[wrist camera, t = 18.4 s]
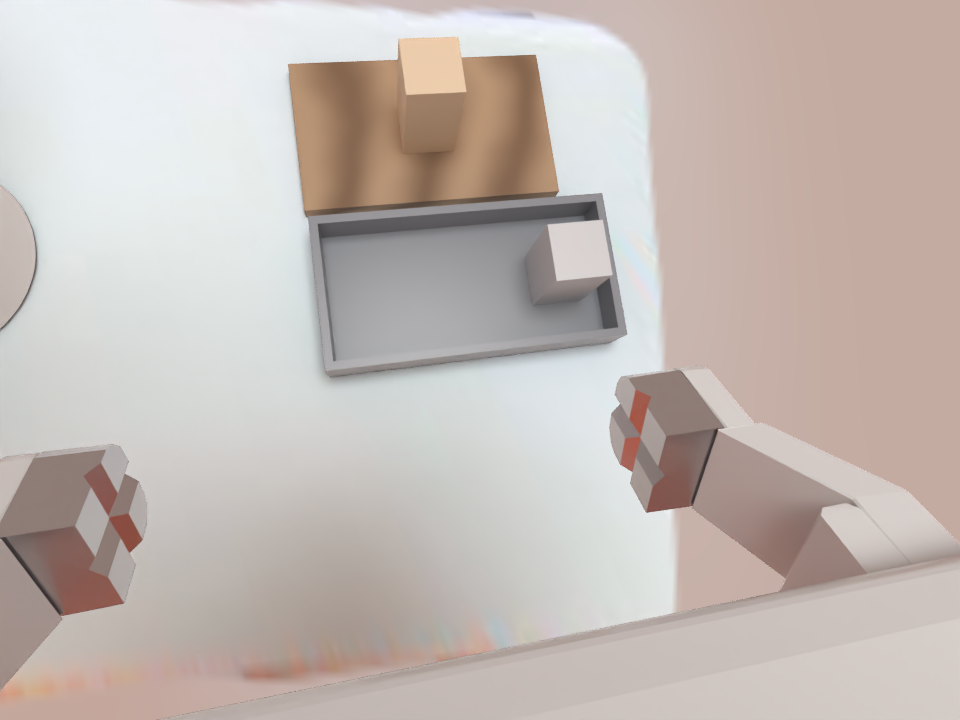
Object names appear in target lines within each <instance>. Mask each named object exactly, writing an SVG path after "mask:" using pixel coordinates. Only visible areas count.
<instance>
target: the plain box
mask: <svg viewBox="0 0 960 720" xmlns="http://www.w3.org/2000/svg"><path fill="white" fill-rule="evenodd" d="M525 261H526V268H527V274H528V280H529V286H530V293H531V299H532V305H542V304H551V303H560V302H569V301H579V300H582V299H583V298H584V297H586V296H587V295H588V294H589V293H591V292H592V291H593V290H594V289H596V288H597V287H598V286H600V285H601V284H602V283H603V282H605V281H606V280H607V279H609V278H610V277H611V276H612V275H613V274H612V269H611V263H610V257H609V252H608V246H607V241H606V235H605V229H604V224H603V220H594V221H582V222H571V223H559V224H548V225H547V226H546V227H545V229H544V230H543V232H542V233H541V235H540V236H539V237H538V239H537V240H536V242H535V243H534V244H533V246H532V247H531V249H530V250H529V252H528V253H527V254H526V256H525Z"/></svg>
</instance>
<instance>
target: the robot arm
mask: <svg viewBox="0 0 960 720" xmlns="http://www.w3.org/2000/svg"><path fill="white" fill-rule="evenodd" d="M35 259H36V249H35V241H34V235H33V232H32V228H31V225H30V223H29V220H28V218H27V216H26V214H25V212H24V211H23V209H22V208H21V206H20V205H19V203H18V202H17V201H16V200H15V198H14V197H13V196H12V195H11V194H10V193H9V192H8V191H7V190H6V189H5V188H3V187H2V186H1V185H0V328H1V327H2V326H4V324H5V323H6V322H7V321H8V320H9V319H10V318H11V317H12V316H13V314H14V313H15V312H16V310H17V309H18V308H19V306H20V305H21V303H22V301H23V300H24V298H25V296H26V294H27V292H28V289H29V287H30V284H31V281H32V278H33V273H34V268H35ZM615 396H616V397H617V399H618V401H619V403H620V405H619V406H618V407H617V408H616V409H615V410H614V411H613V412H612V414H611V420H610V427H609V429H610V438H611V444H612V447H613V450H614V453H615V455H616V457H617V459H618V461H619V463H620V465H622V466H624V467H625V468H627V469H628V470H630V471H632V472H633V473H632V477H631V482H630V484H631V486H632V488H633V489H634V491H635V493H636V495H637V497H638V499H639V500H640V502H641V504H642V506H643V508H644V510H645V512H646V513H648V512H654V511H661V510H668V509H675V508H682V507H689V506H693V507H692V509H694V510H695V511H696V512H698V513H699V514H700V515H702V516H703V517H704V518H706V519H707V520H708V521H710V522H711V523H712V524H714V525H715V526H716V527H718V528H719V529H720V530H722V531H723V532H724V533H726V534H727V535H728V536H730V537H731V538H732V539H734V540H735V541H737V542H738V543H739V544H740V545H742V546H743V547H744V548H746V549H747V550H748V551H750V552H751V553H752V554H754V555H755V556H757V557H758V558H759V559H761V560H762V561H763V562H765V563H766V564H767V565H769V566H770V567H771V568H773V569H774V570H775V571H777V572H778V573H779V574H781V575H782V576H783V577H785V580H784V582H783V583H782V585H781V587H780V589H779V591H778V592H775V593H771V594H766V595H761V596H756V597H751V598H746V599H742V600H737V601H732V602H727V603H722V604H718V605H712V606H707V607H702V608H698V609H693V610H688V611H683V612H678V613H673V614H668V615H663V616H659V617H654V618H649V619H644V620H639V621H634V622H630V623H625V624H620V625H615V626H610V627H605V628H600V629H596V630H591V631H586V632H581V633H576V634H571V635H567V636H562V637H557V638H552V639H547V640H542V641H537V642H533V643H528V644H523V645H518V646H513V647H508V648H504V649H499V650H494V651H489V652H484V653H479V654H474V655H470V656H465V657H460V658H455V659H450V660H445V661H441V662H436V663H431V664H426V665H421V666H416V667H411V668H406V669H402V670H397V671H392V672H387V673H382V674H377V675H372V676H368V677H363V678H358V679H353V680H348V681H343V682H339V683H334V684H329V685H324V686H319V687H314V688H309V689H304V690H299V691H295V692H290V693H285V694H280V695H275V696H270V697H265V698H261V699H256V700H251V701H246V702H241V703H236V704H232V705H226V706H222V707H217V708H212V709H208V710H202V711H197V712H193V713H188V714H183V715H178V716H173V717H168V718H163V719H158V720H960V543H959V542H958V541H957V540H956V539H955V538H954V537H953V536H952V535H951V534H950V533H949V532H948V531H947V530H946V529H945V528H944V527H943V526H942V525H941V524H940V523H939V522H938V521H937V520H936V519H935V518H934V517H933V516H932V515H931V514H930V513H929V512H928V511H927V510H926V509H925V508H924V507H923V506H922V505H921V504H920V503H919V502H918V501H917V500H916V499H915V498H914V497H913V496H912V495H911V494H910V493H909V492H908V491H907V490H905V489H903V488H900V487H898V486H896V485H894V484H892V483H890V482H888V481H886V480H884V479H881V478H879V477H877V476H875V475H873V474H871V473H869V472H866V471H865V470H862V469H860V468H858V467H856V466H854V465H851V464H850V463H848V462H845V461H843V460H841V459H839V458H837V457H835V456H833V455H831V454H829V453H826V452H824V451H822V450H820V449H818V448H816V447H814V446H811V445H809V444H807V443H805V442H803V441H801V440H799V439H797V438H795V437H792V436H790V435H788V434H786V433H784V432H782V431H780V430H777V429H775V428H773V427H771V426H769V425H767V424H765V423H758V424H755V423H754V422H753V421H752V419H751V418H750V417H749V416H748V415H747V414H746V412H745V411H744V410H743V409H742V408H741V406H740V405H739V404H738V403H737V402H736V401H735V399H734V398H733V397H732V396H731V395H730V393H729V392H728V391H727V390H726V389H725V388H724V387H723V385H722V384H721V383H720V382H719V381H718V379H717V378H716V377H715V376H714V375H713V373H712V372H711V371H710V370H709V369H708V368H707V367H705V366H703V365H696V366H689V367H682V368H676V369H674V370H665V371H658V372H651V373H644V374H637V375H629V376H622V377H621V378H620V379H619V381H618V383H617V386H616V391H615ZM128 462H129V461H128V459H127V458H126V456H125V454H124V452H123V450H122V449H121V447H120V446H117V445H114V444H110V445H101V446H92V447H83V448H74V449H65V450H56V451H47V452H42V453H35V454H26V455H17V456H8V457H4V458H3V459H1V460H0V690H1V689H2V688H3V687H4V686H5V685H6V683H7V682H8V681H9V680H10V679H11V678H12V677H13V675H14V674H15V673H16V672H17V671H18V670H19V668H20V667H21V666H22V665H23V664H24V663H25V662H26V660H27V659H28V658H29V657H30V656H31V655H32V653H33V652H34V651H35V650H36V649H37V648H38V647H39V645H40V644H41V643H42V642H43V641H44V640H45V639H46V637H47V636H48V635H49V634H50V633H51V632H52V630H53V629H54V628H55V627H56V626H57V625H58V624H59V622H60V621H61V620H62V617H61V616H64V615H69V614H74V613H79V612H84V611H89V610H94V609H99V608H104V607H109V606H114V605H119V604H124V603H125V600H126V596H127V593H128V589H129V586H130V582H131V579H132V576H133V572H134V569H135V565H136V564H135V563H134V561H133V559H132V557H131V555H130V554H129V553H130V552H131V551H132V550H133V549H134V548H135V547H136V546H137V545H138V544H139V543H140V542H141V541H142V540H143V537H144V533H145V529H146V525H147V504H146V499H145V495H144V492H143V490H142V487H141V485H140V483H139V481H137V480H135V479H133V478H131V477H130V476H128V475H126V474H125V471H126V468H127V465H128Z"/></svg>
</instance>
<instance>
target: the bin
mask: <svg viewBox="0 0 960 720" xmlns="http://www.w3.org/2000/svg"><path fill="white" fill-rule="evenodd" d="M594 220H603V224H604V229H605V235H606V241H607V246H608V252H609V257H610V263H611V269H612V274H613V275H612V276H611V277H610V278H609V279H607V280H606V281H605V282H603V283H602V284H601V285H600V286H598V287H597V288H596V289H594V290H593V291H592V292H591V293H589V294H588V295H587V296H586V297H584V298H583V299H582V300H579V301H569V302H560V303H551V304H542V305H532V299H531V293H530V286H529V280H528V274H527V268H526V261H525V256H526V254H527V253H528V252H529V250H530V249H531V247H532V246H533V244H534V243H535V242H536V240H537V239H538V237H539V236H540V235H541V233H542V232H543V230H544V229H545V227H546V226H547V225H548V224H559V223H571V222H582V221H594ZM308 222H309V231H310V239H311V248H312V257H313V266H314V275H315V284H316V293H317V302H318V311H319V320H320V329H321V338H322V346H323V355H324V364H325V371H326V373H327V374H328V375H329V376H330V377H335V376H343V375H351V374H359V373H367V372H375V371H384V370H392V369H400V368H408V367H416V366H424V365H432V364H440V363H448V362H457V361H465V360H473V359H481V358H489V357H497V356H505V355H513V354H522V353H530V352H538V351H546V350H554V349H562V348H570V347H578V346H587V345H595V344H603V343H611V342H613V341H615V340H617V339H619V338H621V337H623V336H625V335H627V330H626V324H625V319H624V313H623V308H622V302H621V296H620V291H619V285H618V280H617V274H616V268H615V263H614V257H613V252H612V246H611V240H610V235H609V229H608V223H607V218H606V212H605V207H604V201H603V195H602V193H598V194H585V195H573V196H560V197H547V198H535V199H522V200H509V201H496V202H484V203H471V204H458V205H446V206H433V207H420V208H408V209H395V210H382V211H370V212H357V213H344V214H331V215H319V216H308Z"/></svg>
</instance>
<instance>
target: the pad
mask: <svg viewBox="0 0 960 720" xmlns="http://www.w3.org/2000/svg"><path fill="white" fill-rule="evenodd" d="M461 59H462V66H463V72H464V79H465V86H466V97H465V101H464V106H463V110H462V115H461V120H460V124H459V129H458V133H457V138H456V143H455V147H454V151H445V152H429V153H413V154H403V148H402V141H401V133H400V126H399V119H398V111H397V82H398V60H384V61H357V62H330V63H303V64H288V67H289V76H290V85H291V94H292V103H293V112H294V121H295V130H296V139H297V148H298V157H299V166H300V175H301V184H302V193H303V202H304V211H305V214H306V217H308V216H319V215H331V214H344V213H357V212H370V211H382V210H395V209H408V208H420V207H433V206H446V205H458V204H471V203H484V202H496V201H509V200H522V199H535V198H547V197H555V196H556V195H557V193H558V192H559V189H558V183H557V177H556V171H555V165H554V159H553V153H552V147H551V142H550V136H549V130H548V124H547V118H546V112H545V106H544V100H543V94H542V88H541V82H540V76H539V70H538V64H537V59H536V55H518V56H491V57H465V58H461Z"/></svg>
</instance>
